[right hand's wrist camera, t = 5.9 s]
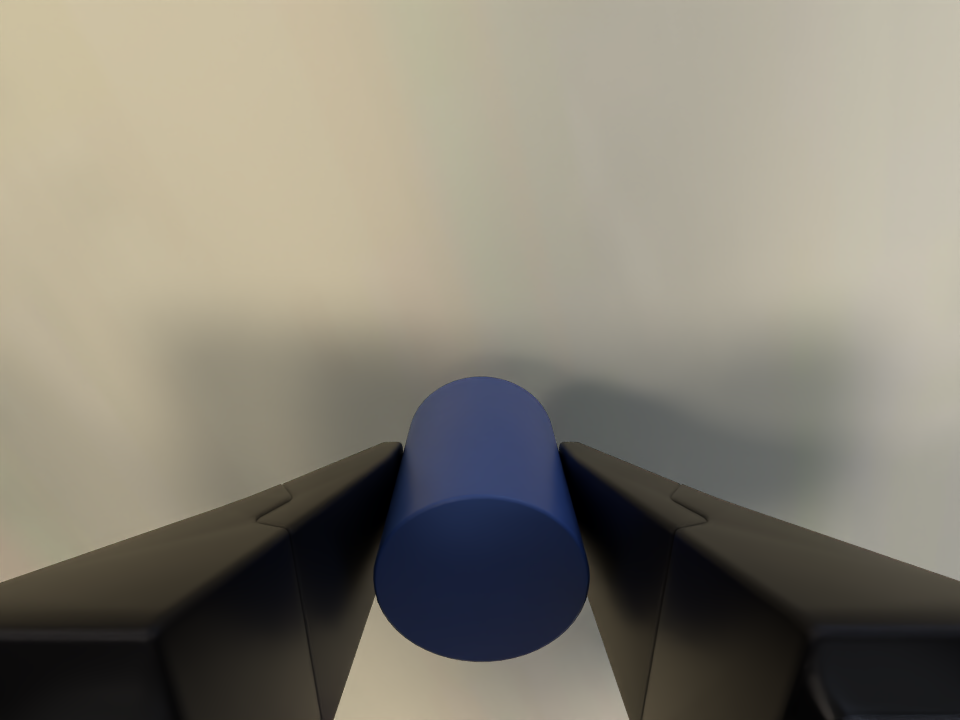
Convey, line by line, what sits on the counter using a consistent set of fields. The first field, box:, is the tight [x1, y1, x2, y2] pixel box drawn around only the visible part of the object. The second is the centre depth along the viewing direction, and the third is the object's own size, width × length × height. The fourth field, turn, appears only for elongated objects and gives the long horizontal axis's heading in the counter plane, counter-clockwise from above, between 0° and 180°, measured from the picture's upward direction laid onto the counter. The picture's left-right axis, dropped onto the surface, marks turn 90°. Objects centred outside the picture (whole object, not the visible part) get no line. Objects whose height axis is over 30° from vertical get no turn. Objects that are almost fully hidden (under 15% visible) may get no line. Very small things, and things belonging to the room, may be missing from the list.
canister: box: [373, 377, 590, 662], centre depth 10 cm, size 4×4×4 cm
